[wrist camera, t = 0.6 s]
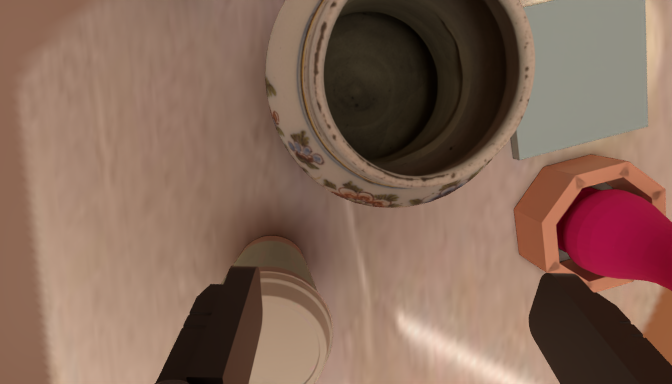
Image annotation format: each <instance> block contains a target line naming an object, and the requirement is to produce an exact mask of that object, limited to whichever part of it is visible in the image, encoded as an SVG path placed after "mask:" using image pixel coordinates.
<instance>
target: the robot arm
mask: <svg viewBox="0 0 672 384" xmlns="http://www.w3.org/2000/svg"><path fill="white" fill-rule="evenodd" d="M262 318H263V306H262V294H261V282H260V271H259V267H257V266H231V267H230V269H229V272H228V274H227V276H226V279H225V281H224V284H210V285H209V286H208V287H207V288H206V289H205V290H204V291H203V292H202V293H201V294H200V295H199V296H197V298H196V300H195V302H194V304H193V306H192V308H191V310H190V314H189V315H188V317H187V319H186V321H185V323H184V327H183V328H182V329H181V331H180V333H179V336H178V338H177V340H176V342H175V344H174V346H173V348H172V350H171V352H170V354H169V357H168V359H167V361H166V363H165V365H164V367H163V369H162V371H161V373H160V375H159V378H158V379H157V381H156V383H155V384H249V380H250V376H251V371H252V367H253V363H254V359H255V354H256V350H257V346H258V341H259V337H260V333H261V327H262ZM529 327H530V331H531V334H532V336H533V338H534V340H535V342H536V343H537V345H538V347H539V349H540V350H541V352H542V354H543V355H544V357H545V359H546V360H547V362H548V364H549V365H550V367H551V369H552V371H553V372H554V374H555V376H556V377H557V379H558V381H559V382H560V384H672V365H671V364H670V363H669V362H668V361H667V360H666V359H665V358H664V357H663V356H662V355H661V354H660V352H659V351H657V349H656V348H655V347H654V346H653V345H652V344H651V343H650V342H649V341H648V340H647V338H643V334H642V333H641V332H640V331H639V330H638V329H637V328H636V327H635V326H634V325H631V321H630V320H629V319H628V318H627V317H626V316H625V315H624V314H623V313H622V311H621V310H620V309H619V308H618V307H617V306H616V305H614V304H613V303H611V302H610V301H608V300H607V299H605V298H604V297H602V296H601V295H600V294H598V293H597V292H593V291H592V290H591V289H590V288H589V287H588V286H587V285H586V284H585V282H584V281H583V280H582V279H581V278H580V277H579V276H578V275H576V274H573V273H545V274H544V275H543V276H542V277H541V280H540V283H539V286H538V289H537V292H536V295H535V298H534V301H533V304H532V307H531V310H530V314H529Z"/></svg>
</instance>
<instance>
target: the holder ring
mask: <svg viewBox="0 0 672 384" xmlns="http://www.w3.org/2000/svg"><path fill="white" fill-rule="evenodd" d="M603 182H606V183H607V184H609V185H610V186H611V187H613V189H617V190H624V191H627V192H630V193H632V194H635V195H637V196H640V197H642V198H644V199H645V200H647V201H648V202H650V203H651V204H653V205H654V206H655V207H656V208H657V209H658V210H659V211H661V212H662V213H663V214H664V215H665V216H666V198H665V188H663V187H662V186H661V185H659V184H658V183H657V182H655V181H654V180H653V179H651V178H650V177H649V176H647V175H646V174H645V173H643V172H642V171H641V170H639V169H638V168H636V167H635V166H634V165H632V164H631V163H630V162H629V161H624V160H618V159H613V158H607V157H602V156H596V155H591V154H590V155H587V156H583V157H579V158H576V159H572V160H568V161H564V162H561V163H557V164H553V165H549V166H545V167H543V168H542V170H541V171H540V173H539V174H538V176H537V177H536V178H535V180H534V181H533V183H532V184H531V186H530V187H529V188H528V190H527V191H526V193H525V194H524V196H523V197H522V198H521V200H520V201H519V203H518V204H517V206H516V207H515V208H514V215H515V223H516V231H517V240H518V248H519V254H520V255H521V256H523V257H524V258H526V259H527V260H529V261H530V262H531V263H533V264H534V265H536V266H537V267H539V268H540V269H542V270H543V271H545V272H546V273H573V274H576V275H578V276H579V277H580V278H581V279H582V280H583V281H584V282H585V284H586V285H587V286H588V287H589V288H590V289H591V290H592V291H593V292H599V291H602V290H605V289H609V288H612V287H616V286H619V285H623V284H626V283H630V282H633V281H634V280H632V279H616V278H610V277H605V276H601V275H598V274H594V273H592V272H590V271H588V270H586V269H583V268H582V267H580V266H578V265H577V264H576V263H575V262H574V261H573V260H572V259H570V260H566V261H563V262H559V253H558V242H557V231H556V224H557V223H558V221H559V220H560V218H561V217H562V216H563V214H564V213H565V212H566V210H567V209H568V207H569V206H570V205H571V203H572V202H573V200H574V199H575V198H576V196H577V195H578V194H579V192H580V191H581V189H582V188H585V187H588V186H592V185H596V184H599V183H603Z"/></svg>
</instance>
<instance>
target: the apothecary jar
mask: <svg viewBox="0 0 672 384" xmlns="http://www.w3.org/2000/svg"><path fill="white" fill-rule="evenodd" d="M534 73H535V48H534V40H533V35H532V31H531V27H530V24H529V21H528V18H527V15H526V13H525V11H524V9H523V7H522V5H521V3H520V1H519V0H285V2H284V4H283V6H282V7H281V9H280V11H279V14H278V16H277V18H276V21H275V23H274V26H273V29H272V32H271V36H270V39H269V44H268V49H267V55H266V66H265V81H266V91H267V97H268V102H269V107H270V111H271V115H272V118H273V121H274V124H275V126H276V129H277V131H278V133H279V135H280V138H281V139H282V141H283V143H284V145H285V147H286V148H287V150H288V151H289V153H290V154H291V156H292V157H293V158H294V159H295V161H296V162H297V163H298V164H299V166H300V167H301V168H302V169H303V170H304V171H305V172H306V173H307V174H308V175H309V176H310V177H311V178H312V179H314V180H315V181H316V182H317V183H319V184H320V185H321V186H323V187H324V188H326V189H327V190H329V191H330V192H332V193H334V194H336V195H337V196H340V197H342V198H345V199H347V200H350V201H352V202H355V203H359V204H363V205H368V206H374V207H385V208H397V207H408V206H414V205H419V204H423V203H428V202H431V201H434V200H436V199H439V198H441V197H443V196H446V195H448V194H450V193H451V192H453V191H455V190H456V189H458V188H460V187H461V186H463V185H464V184H466V183H467V182H468V181H470V180H471V179H472V178H473V177H475V176H476V175H477V174H478V173H479V172H480V171H481V170H482V169H483V168H484V167H485V166H486V165H487V164H488V163H489V162H490V161H491V160H492V158H493V157H494V156H495V155H496V154H497V153H498V152H499V151H500V150H501V149H502V148H503V147H504V146H505V144H506V143H507V142H508V141H509V139H510V138H511V137H512V135H513V134H514V132H515V131H516V129H517V127H518V126H519V124H520V122H521V120H522V118H523V116H524V113H525V111H526V108H527V105H528V102H529V99H530V95H531V91H532V87H533V81H534Z"/></svg>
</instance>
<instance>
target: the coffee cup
mask: <svg viewBox="0 0 672 384" xmlns="http://www.w3.org/2000/svg"><path fill="white" fill-rule="evenodd" d="M233 266H257V267H259V271H260V282H261V294H262V306H263V318H262V327H261V333H260V337H259V341H258V346H257V350H256V354H255V359H254V363H253V367H252V371H251V376H250V380H249V384H314V383H315V382H316V381H317V379H318V378H319V376H320V374H321V372H322V370H323V368H324V365H325V363H326V361H327V359H328V357H329V354H330V351H331V346H332V338H333V322H332V317H331V314H330V311H329V308H328V306H327V304H326V303H325V301H324V300H323V298H322V297H321V296H320V294H319V293H318V292H317V290H316V287H315V284H314V282H313V279H312V277H311V274H310V272H309V269H308V267H307V264H306V262H305V259H304V257H303V254H302V252H301V251H300V249H299V248H298V247H297V246H296V245H295V244H294V243H293V242H291V241H290V240H288V239H286V238H283V237H280V236H264V237H261V238H258V239H256V240H254V241H252V242H251V243H250V244H248V245H247V246H246V247H245V249H244V250H243V251H242V253H241V254H240V256H239V257H238V259H237V260H236V262H235V263H234V265H233ZM225 279H226V277H225ZM225 279H224V280H223V282H222V283H221V284H224V281H225Z"/></svg>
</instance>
